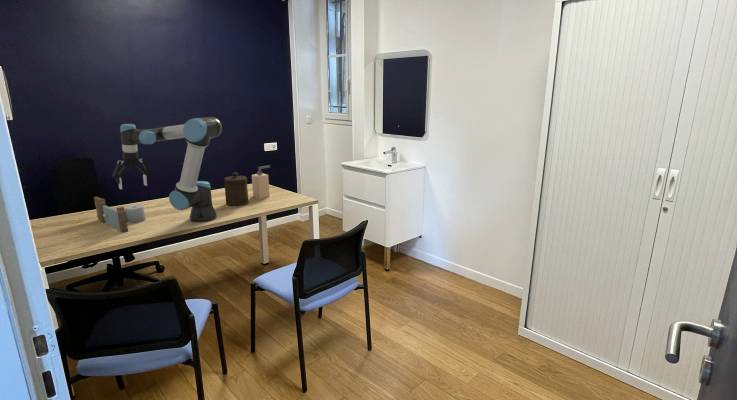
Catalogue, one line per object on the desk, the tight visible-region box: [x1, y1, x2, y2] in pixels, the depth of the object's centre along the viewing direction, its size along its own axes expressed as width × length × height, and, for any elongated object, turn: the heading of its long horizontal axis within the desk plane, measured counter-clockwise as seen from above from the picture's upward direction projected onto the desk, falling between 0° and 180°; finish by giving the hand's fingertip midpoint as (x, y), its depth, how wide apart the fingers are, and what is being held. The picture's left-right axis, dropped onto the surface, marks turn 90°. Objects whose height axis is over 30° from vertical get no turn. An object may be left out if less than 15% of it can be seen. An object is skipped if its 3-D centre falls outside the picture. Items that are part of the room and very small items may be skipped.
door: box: [102, 205, 120, 230], centre depth 228 cm, size 22×3×10 cm, turn 52°
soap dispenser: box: [251, 165, 271, 200], centre depth 293 cm, size 13×9×22 cm
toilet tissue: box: [124, 204, 147, 224], centre depth 239 cm, size 9×13×9 cm
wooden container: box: [223, 171, 250, 207], centre depth 274 cm, size 15×15×22 cm
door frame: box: [93, 196, 129, 234], centre depth 231 cm, size 36×3×14 cm, turn 52°
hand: (133, 186), depth 238 cm, fingers open, 13 cm apart
